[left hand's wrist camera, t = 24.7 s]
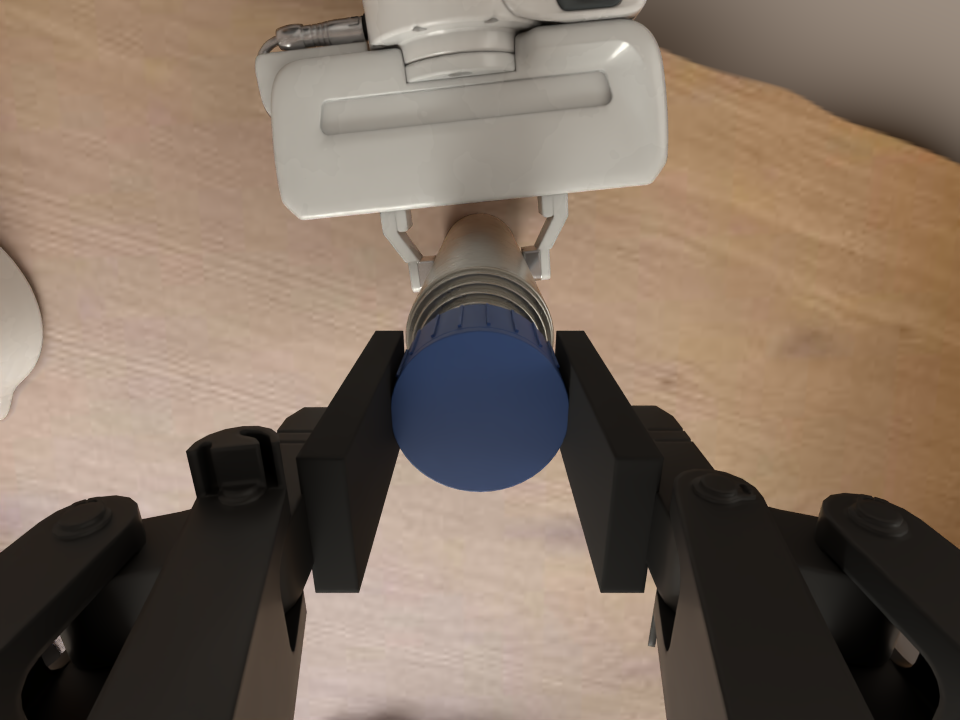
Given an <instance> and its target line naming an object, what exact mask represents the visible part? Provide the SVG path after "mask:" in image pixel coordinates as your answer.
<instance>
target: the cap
mask: <svg viewBox="0 0 960 720" xmlns="http://www.w3.org/2000/svg"><path fill="white" fill-rule="evenodd" d="M559 368H560V366H559V363H558V361H557V358H556V356H555V353H554V351H553V348H552V346H551V343H550V341H548V342H547V341H546V339H545V338H544V336H543V335H542V333H541V332H540V331H539V330H538V329H537V327H536V325H535V323H534V322H533V323H531V322H530V321H529V320H527V319H526V318H524V317H523V316H521V315H520V314H518V313H515V312H514V310H512V309H511V310H509V309H506V308H502V307H499V306H494V305H489V304H488V303H486V305H484V304H475V305H466V306H463V305H460V307H457V308H454V309H451V310H448V311H446V312H444V313H442V314H437V315H436V318H434V319H433V320H431V321H430V322H429V323H428V324H427V325H425V326H424V327H423V328H422V329H421V330H420V329H419V330H418V331H417V334H416V337H415V339H414V340H413V342H412V343H411V346H410V348H409V350H407V349H406V351H405V354H404V356H403V359H402V361H401V364H400V366H399V369H398V371H397V374H396V376H395V377H397V381H396V383H395V386H394V389H393V393H392V397H391V414H392V428H393V433H394V436H395V439H396V441H397V443H398V445H399V447H400V449H401V450H402V452H403V453H404V455H405V456H406V458H407V459H408V460H409V461H410V462H411V463H412V465H414V466H415V467H416V468H417V469H418V470H419V471H420V472H422V473H423V474H424V475H426V476H427V477H429V478H430V479H432V480H434V481H436V482H438V483H440V484H443V485H445V486H448V487H451V488H454V489H458V490H464V491H471V492H488V491H496V490H502V489H505V488H509V487H512V486H515V485H517V484H520V483H522V482H524V481H526V480H527V479H529V478H531V477H533V476H534V475H535V474H537V473H538V472H539V471H541V470H542V469H543V468H544V467H545V466H546V465H547V464H548V463H549V462H550V461H551V460H552V458H553V457H554V456H555V455H556V453H557V451H558V450H559V448H560V447H561V445H562V443H563V440H564V438H565V436H566V432H567V423H568V408H569V398H568V393H567V390H566V387H565V384H564V381H563V379H562V376H561V373H560V371H559Z"/></svg>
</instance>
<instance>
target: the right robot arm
mask: <svg viewBox="0 0 960 720" xmlns="http://www.w3.org/2000/svg"><path fill="white" fill-rule="evenodd" d="M646 1H647V0H362V2H363V8H364V14H363V16H359V17H358V16H355V17H350V18H342V19H334V20H329V21H325V22H322V23H318V24H312V25H304V26H303V24H290V25H286V26H282V27H280V28H277V29H276V36H274V37H272V38H271V39H269V40H267V41H266V42H265V43H264V44H263V46H262V47H261V49H260V50H259V52H258V55H257V57H256V60H255V72H256V77H257V81H258V86H259V90H260V95H261V99H262V102H263V105H264V107H265V110H266V112H267V113H268V115H269V116H270V117H271V126H272V140H273V150H274V159H275V167H276V174H277V180H278V186H279V191H280V196H281V199H282V202H283V204H284V205H285V206H286V207H287V208H288V209H289V210H290V211H291V212H292V213H293V214H294V215H295V216H296V217H298V218H299V219H301V220H311V219H320V218H330V217H340V216H350V215H359V214H369V213H379V212H380V217H381V223H382V229H383V234H384V236H385V237H386V238H387V239H388V241H389V242H390V243H391V245H392V246H393V247H394V248H395V250H396V251H397V252H398V253H399V255H400V256H401V257H402V259H403V260H404V261H405V262H406V263H408V266H409V272H410V279H411V285H412V290H413V292H420V290H421V288H422V286H423V284H424V282H425V279H426V277H427V275H428V273H429V271H430V269H431V267H432V265H433V263H434V261H435V259H436V256H424V257H422V254H421V253H420V252H419V250H418V249H417V247H416V246H415V245H414V243H413V242H412V240H411V239H410V238H409V236H408V235H407V234H406V232H405V231H407V230H408V229H409V228H411V226H412V225H413V224H412V217H411V209H418V208H427V207H437V206H447V205H456V204H466V203H476V202H486V201H495V200H505V199H515V198H524V197H534V196H537V197H538V211H539V213H540V214H541V215H543V216H544V217H547V219H546V221H545V223H544V225H543V227H542V230H541V232H540V234H539V236H538V238H537V240H536V242H535V245H534V246H526V247H521V253H522V255H523V257H524V259H525V261H526V263H527V266H528V268H529V270H530V272H531V274H532V276H533V278H534V280H535V281H536V280H547V279H550V253H549V249H551V248H552V246H553V245H554V243H555V241H556V239H557V237H558V235H559V233H560V231H561V229H562V227H563V225H564V223H565V221H566V219H567V217H568V193H573V192H583V191H592V190H602V189H612V188H622V187H631V186H641V185H649V184H651V183H652V182H653V181H654V180H655V179H656V177H657V176H658V175H659V173H660V172H661V170H662V169H663V167H664V166H665V164H666V161H667V155H668V112H667V96H666V85H665V76H664V67H663V61H662V56H661V52H660V49H659V46H658V43H657V41H656V39H655V38H654V36H653V34H652V33H651V32H650V31H649V30H648V29H647V28H646V27H645V26H644V25H642V24H641V23H639V22H636V21H634V19H635V18H636V17H637V15H638V14H639V13H640V11H641V10H642V8H643V7H644V5H645V3H646ZM368 41H369V44H368ZM277 46H279V47H280V49H281V50H283V51H280V52H271V53H269V52H270V51H271V50H272V49H273V48H275V47H277ZM316 46H317V47H316ZM321 46H323V47H321ZM313 47H315V48H313ZM370 50H371V51H370ZM42 343H43V324H42V317H41V313H40V309H39V306H38V303H37V300H36V297H35V295H34V293H33V291H32V288H31V287H30V285H29V283H28V281H27V279H26V278H25V276H24V274H23V273H22V272H21V270H20V269H19V267H18V266H17V265H16V263H15V262H14V261H13V260H12V258H11V257H10V256H9V255H8V254H7V253H6V252H5V251H4V250H3V249H2V248H1V247H0V420H2V419H4V418H5V417H6V416H7V414H8V412H9V409H10V406H11V402H12V397H13V392H14V390H15V389H16V387H17V386H18V385H19V384H20V383H21V382H22V381H23V380H24V379H25V378H26V377H27V376H28V375H29V374H30V372H31V371H32V370H33V368H34V367H35V365H36V363H37V361H38V358H39V356H40V353H41V349H42Z"/></svg>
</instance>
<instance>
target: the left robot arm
mask: <svg viewBox="0 0 960 720" xmlns="http://www.w3.org/2000/svg"><path fill="white" fill-rule="evenodd" d="M403 356H404V336H403V331H375V333H374V334H373V336H372V338H371V339H370V341H369V342H368V344H367V346H366V347H365V349H364V350H363V352H362V353H361V355H360V357H359V358H358V360H357V361H356V363H355V365H354V366H353V368H352V369H351V371H350V372H349V374H348V376H347V377H346V379H345V380H344V382H343V384H342V385H341V387H340V388H339V390H338V391H337V393H336V395H335V396H334V398H333V399H332V401H331V402H330V404H329V406H328V407H304V408H302V409H301V410H299V411H297V412H296V413H294V414H292V415H291V416H289V417H288V418H286V420H285V421H284V422H283V424H282V425H281V426H280V427H279V429H278V430H277V433H276V432H275V431H273V430H272V429H270V428H265V427H261V426H241V427H235V428H230V429H225V430H222V431H219V432H216V433H213V434H210V435H208V436H206V437H204V438H202V439H200V440H198V441H197V442H195V443H194V444H193V445H192V446H191V447H190V448H189V449H188V450H187V451H186V453H187V458H188V462H189V466H190V470H191V475H192V479H193V483H194V487H195V492H196V496H197V499H196V501H195V503H194V505H193V507H192V509H190V510H186V511H182V512H177V513H172V514H167V515H162V516H156V517H151V518H146V519H141V515H140V512H139V508H138V505H137V503H136V502H135V501H133V500H132V499H131V498H129V497H123V496H117V495H115V496H104V497H94V498H89V499H88V500H86V499H85V500H82V501H78V502H75V503H73V504H72V505H70V506H68V507H66V508H63V509H61V510H59V511H56V512H55V513H53V514H52V515H50V516H49V517H47V518H45V519H44V520H42V521H41V522H39V523H38V524H37V525H35V526H34V527H33V528H31V529H30V530H29V531H28V532H26V533H25V534H24V535H23V536H21V537H20V538H19V539H17V540H16V541H15V542H14V543H12V544H11V545H10V546H8V547H7V548H6V549H5V550H3V551H2V552H1V553H0V720H293V719H294V711H295V703H296V695H297V686H298V678H299V670H300V662H301V654H302V646H303V638H304V630H305V621H306V613H307V611H306V604H305V598H304V591H303V589H304V586H305V584H306V582H307V579H308V577H309V575H310V572H311V570H312V572H313V578H314V585H315V592H316V593H359V591H360V587H361V584H362V580H363V577H364V573H365V570H366V566H367V562H368V559H369V555H370V552H371V548H372V545H373V541H374V538H375V534H376V531H377V527H378V524H379V520H380V517H381V513H382V509H383V506H384V502H385V499H386V495H387V492H388V488H389V485H390V481H391V478H392V474H393V471H394V467H395V464H396V460H397V457H398V453H399V449H400V447H399V445H398V443H397V441H396V439H395V436H394V433H393V428H392V414H391V397H392V393H393V389H394V386H395V383H396V381H397V377H395V376H396V374H397V371H398V369H399V366H400V364H401V361H402V359H403ZM555 356H556V358H557V361H558V363H559V366H560V368H559V371H560V373H561V376H562V379H563V381H564V384H565V387H566V390H567V393H568V398H569V408H568V423H567V432H566V436H565V438H564V440H563V443H562V445H561V447H560V451H561V454H562V458H563V461H564V465H565V468H566V472H567V475H568V479H569V482H570V486H571V489H572V493H573V497H574V500H575V504H576V507H577V511H578V514H579V518H580V521H581V525H582V528H583V532H584V535H585V539H586V542H587V546H588V550H589V553H590V557H591V560H592V564H593V567H594V571H595V574H596V578H597V581H598V585H599V588H600V592H601V593H644V589H645V583H646V576H647V569H648V568H649V570H650V573H651V575H652V578H653V580H654V582H655V585H656V587H657V591H656V598H655V604H654V610H653V617H652V623H651V629H650V635H649V642H648V646H652V647H655V644H656V638H657V645H658V653H659V661H660V669H661V677H662V685H663V693H664V701H665V710H666V718H667V720H960V550H959V549H958V548H957V547H956V546H954V545H953V544H952V543H950V542H949V541H948V540H947V539H945V538H944V537H943V536H941V535H940V534H939V533H938V532H936V531H935V530H934V529H932V528H931V527H930V526H929V525H927V524H926V523H925V522H923V521H922V520H921V519H919V518H918V517H916V516H914V515H913V514H911V513H910V512H908V511H906V510H905V509H903V508H901V507H898V506H896V505H894V504H891V503H889V502H888V501H886V500H884V499H880V498H877V497H874V498H873V497H872V496H869V495H864V494H850V493H841V494H835V495H830V496H829V497H828V498H826V499H825V500H824V501H823V503H822V507H821V510H820V514H819V517H816V516H810V515H805V514H800V513H795V512H789V511H784V510H779V509H775V508H771V507H768V506H767V504H766V502H765V500H764V498H763V496H762V495H761V494H760V493H759V491H758V490H757V489H756V488H755V487H754V486H752V485H751V484H749V483H748V482H746V481H745V480H743V479H741V478H739V477H736V476H734V475H731V474H729V473H726V472H722V471H717V470H714V468H713V467H712V466H711V465H710V463H709V462H708V461H707V459H706V458H705V457H704V456H703V454H702V453H701V452H700V450H699V449H698V448H697V446H696V445H695V444H694V443H693V442H691V439H690V437H689V436H688V435H687V434H686V432H685V431H683V428H682V427H681V426H680V424H679V423H678V422H677V421H676V419H675V418H674V417H673V416H672V415H670V414H669V413H667V412H665V411H664V410H662V409H660V408H659V407H657V406H631V405H630V403H629V401H628V400H627V398H626V397H625V395H624V394H623V392H622V390H621V389H620V387H619V386H618V384H617V383H616V381H615V379H614V378H613V376H612V375H611V373H610V371H609V370H608V368H607V367H606V365H605V364H604V362H603V360H602V359H601V357H600V356H599V354H598V352H597V351H596V349H595V348H594V346H593V345H592V343H591V341H590V340H589V338H588V337H587V335H586V333H585V332H584V331H556V348H555ZM59 635H60V636H61V638H62V641H63V643H64V646H65V649H66V650H65V651H64V652H63V653H62V654H61V656H60V657H59V658H58V659H57V660H56V661H54V662H53V663H52V664H51V665H50V666H48V667H47V666H46V665H45V663H44V661H43V658H42V656H41V655H42V654H43V653H44V652H45V650H46V649H47V648H48V647H49V646H50V645H51V644H52V643H53V642H54V641H55V640H56V639H57V638H58V636H59Z"/></svg>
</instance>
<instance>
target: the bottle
mask: <svg viewBox="0 0 960 720" xmlns="http://www.w3.org/2000/svg"><path fill="white" fill-rule="evenodd" d="M486 303H488V304H489V305H494V306H499V307H502V308H506V309H509V310H511V309H512V310H514V312H515V313H518V314H520V315H521V316H523V317H524V318H526V319H527V320H529V321H530V322H531V323H533V322H534V323H535V325H536V327H537V329H538V330H539V331H540V332H541V333H542V335H543V336H544V338H545V339H546V341H547V342H548V341H550V343H551V346H552V348H553V342H554V329H553V323H552V318H551V315H550V312H549V310H548V307H547V305H546V303H545V301H544V299H543V297H542V295H541V293H540V291H539V289H538V287H537V284H536V282H535V280H534V278H533V276H532V274H531V272H530V270H529V268H528V266H527V263H526V261H525V259H524V257H523V255H522V253H521V251H520V249H519V247H518V245H517V243H516V240H515V238H514V236H513V234H512V232H511V231H510V229H509V228H508V226H507V225H506V224H505V223H504V222H502V221H501V220H500V219H498V218H496V217H494V216H492V215H488V214H479V213H478V214H472V215H468V216H466V217H464V218H462V219H460V220H459V221H457V222H456V223H455V224H454V225H453V226H452V228H451V229H450V230H449V232H448V234H447V236H446V238H445V240H444V242H443V244H442V246H441V248H440V250H439V253H438V255H437V257H436V259H435V261H434V263H433V265H432V267H431V269H430V271H429V273H428V275H427V277H426V279H425V282H424V284H423V286H422V288H421V290H420V292H419V294H418V296H417V298H416V300H415V302H414V304H413V306H412V309H411V311H410V314H409V317H408V321H407V326H406V346H407V350H409V348H410V346H411V343H412V342H413V340H414V339H415V337H416V334H417V331H418V330H419V329H420V330H421V329H422V328H423V327H424V326H425V325H427V324H428V323H429V322H430V321H431V320H433V319H434V318H436V315H437V314H442V313H444V312H446V311H448V310H451V309H454V308H457V307H460V305H463V306H466V305H475V304H484V305H486Z"/></svg>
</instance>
